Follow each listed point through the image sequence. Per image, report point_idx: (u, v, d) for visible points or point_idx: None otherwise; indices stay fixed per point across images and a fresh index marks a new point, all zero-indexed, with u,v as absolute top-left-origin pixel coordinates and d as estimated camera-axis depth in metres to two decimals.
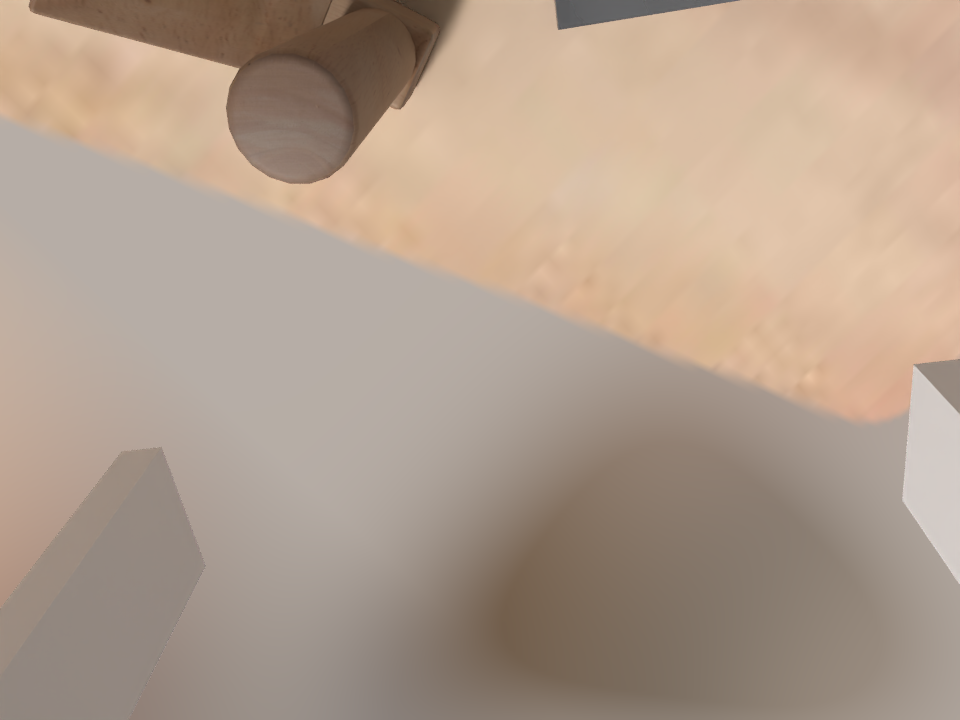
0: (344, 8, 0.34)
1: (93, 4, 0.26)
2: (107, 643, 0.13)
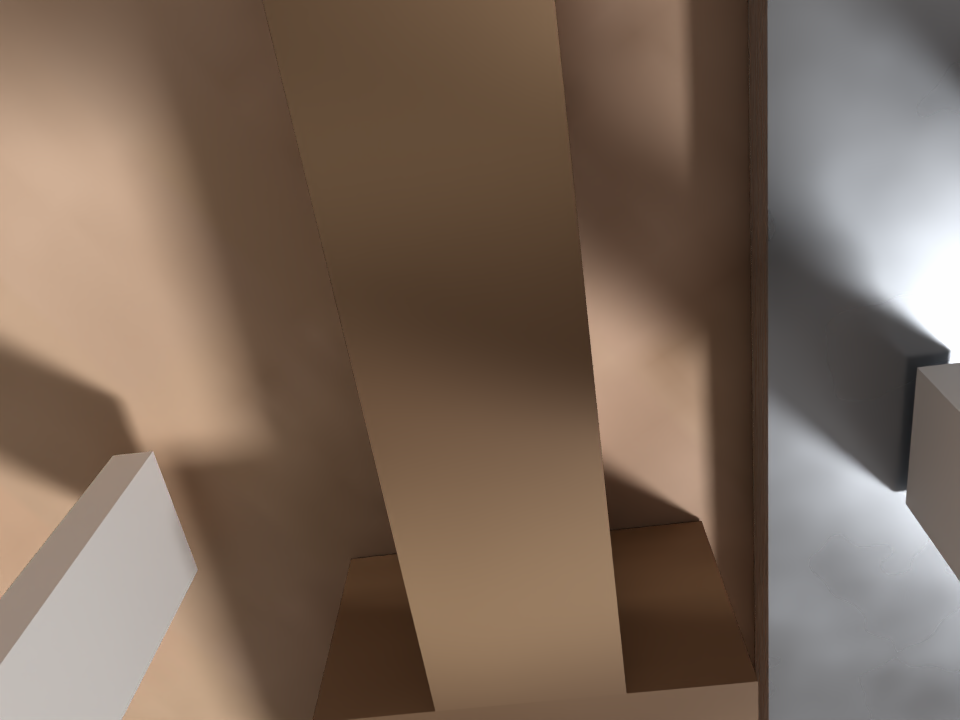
0: None
1: None
2: (96, 649, 0.13)
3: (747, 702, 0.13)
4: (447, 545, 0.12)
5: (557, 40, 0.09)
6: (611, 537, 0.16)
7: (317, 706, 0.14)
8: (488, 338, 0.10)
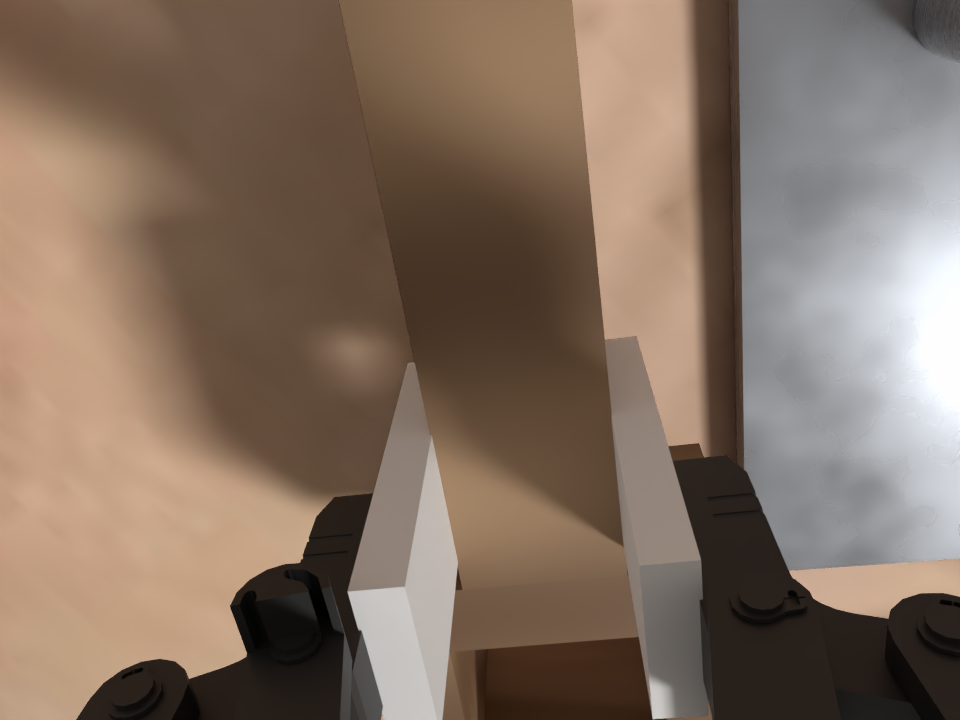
0: None
1: None
2: (443, 519, 0.14)
3: None
4: (475, 438, 0.14)
5: (570, 2, 0.11)
6: None
7: None
8: (511, 256, 0.13)
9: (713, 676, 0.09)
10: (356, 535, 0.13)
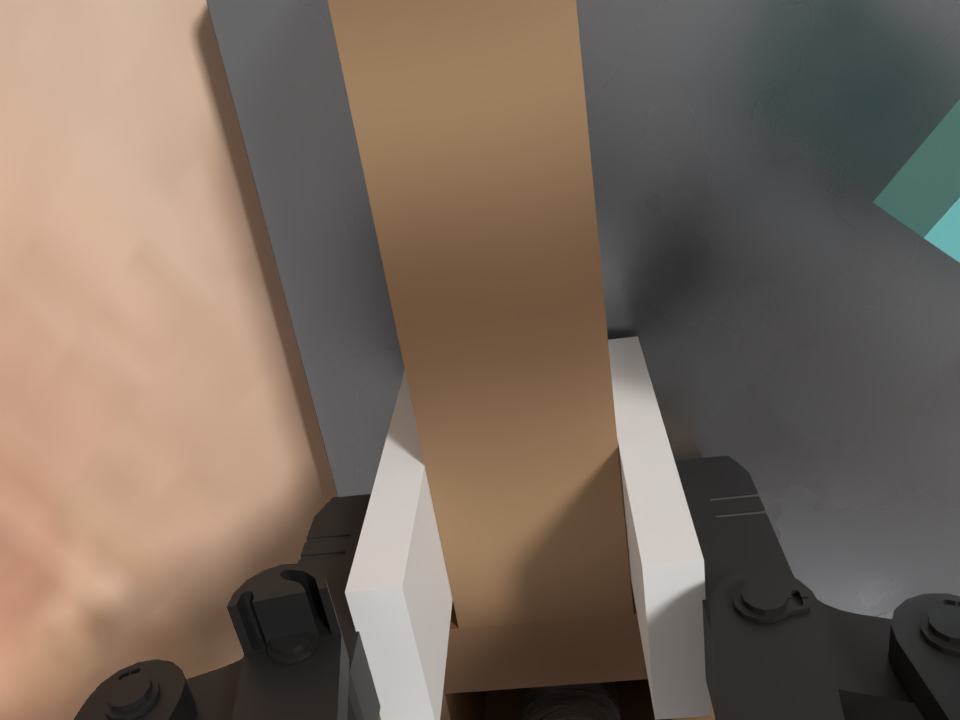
0: None
1: None
2: None
3: None
4: (471, 467, 0.13)
5: (575, 5, 0.10)
6: None
7: None
8: (510, 275, 0.12)
9: (716, 676, 0.09)
10: (354, 535, 0.13)
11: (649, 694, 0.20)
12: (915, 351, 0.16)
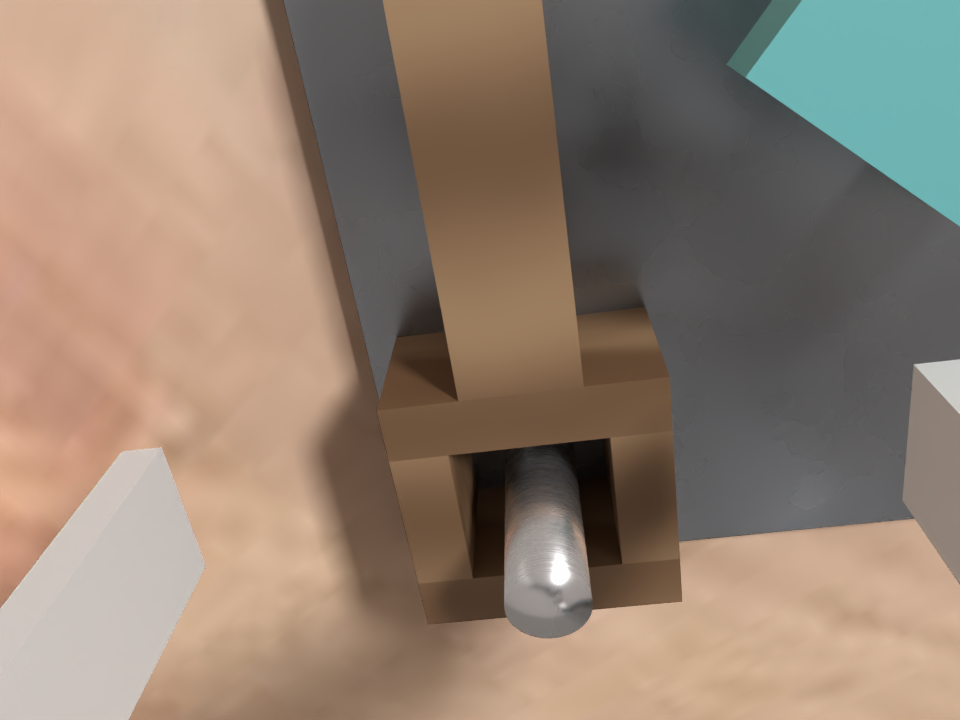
0: None
1: None
2: (107, 643, 0.13)
3: (663, 393, 0.20)
4: (467, 273, 0.19)
5: None
6: (581, 317, 0.23)
7: (379, 404, 0.21)
8: (493, 127, 0.17)
9: None
10: None
11: (604, 489, 0.25)
12: (796, 207, 0.22)
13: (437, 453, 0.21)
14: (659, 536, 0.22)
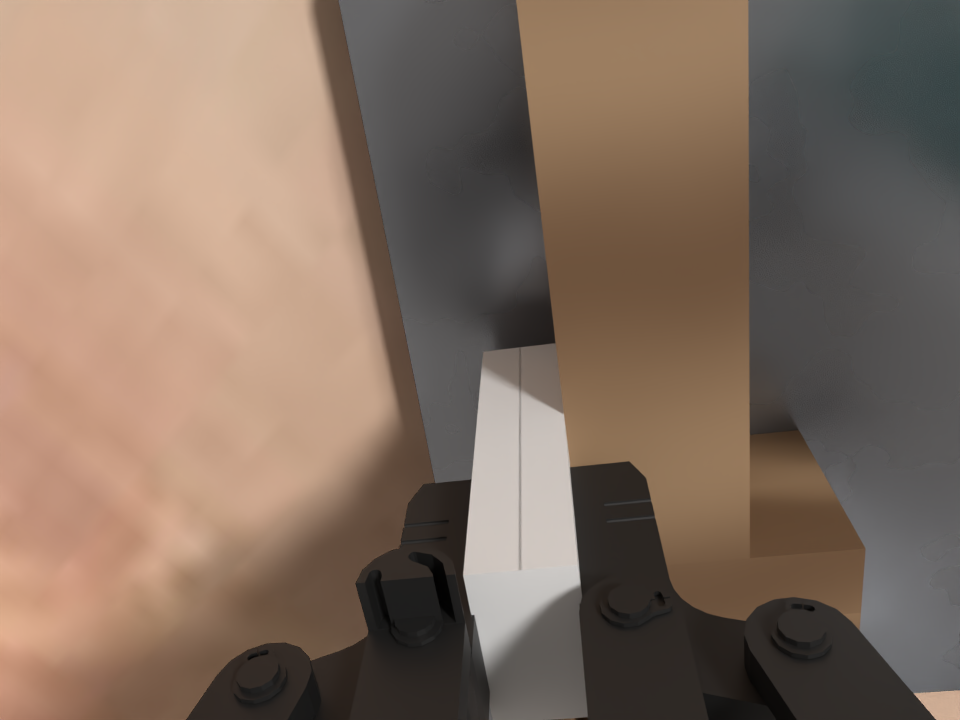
0: None
1: None
2: None
3: (854, 568, 0.15)
4: (608, 418, 0.14)
5: None
6: None
7: None
8: (663, 233, 0.12)
9: (586, 685, 0.09)
10: (453, 521, 0.13)
11: None
12: None
13: None
14: None
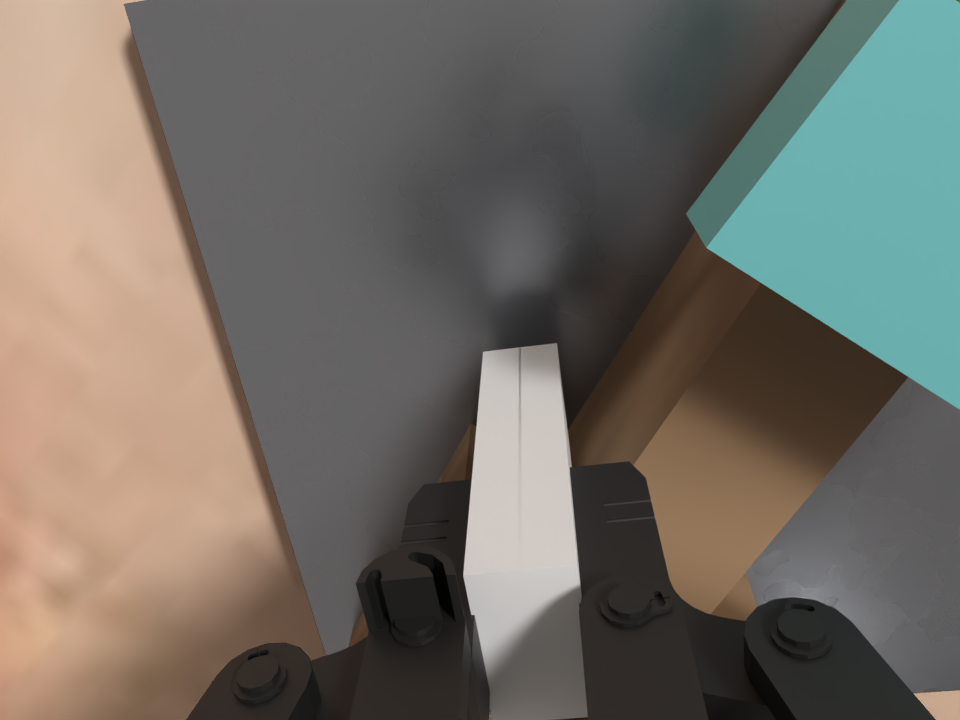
0: None
1: None
2: None
3: None
4: (681, 465, 0.15)
5: None
6: None
7: None
8: (842, 347, 0.13)
9: (586, 685, 0.09)
10: (453, 521, 0.13)
11: None
12: None
13: None
14: None
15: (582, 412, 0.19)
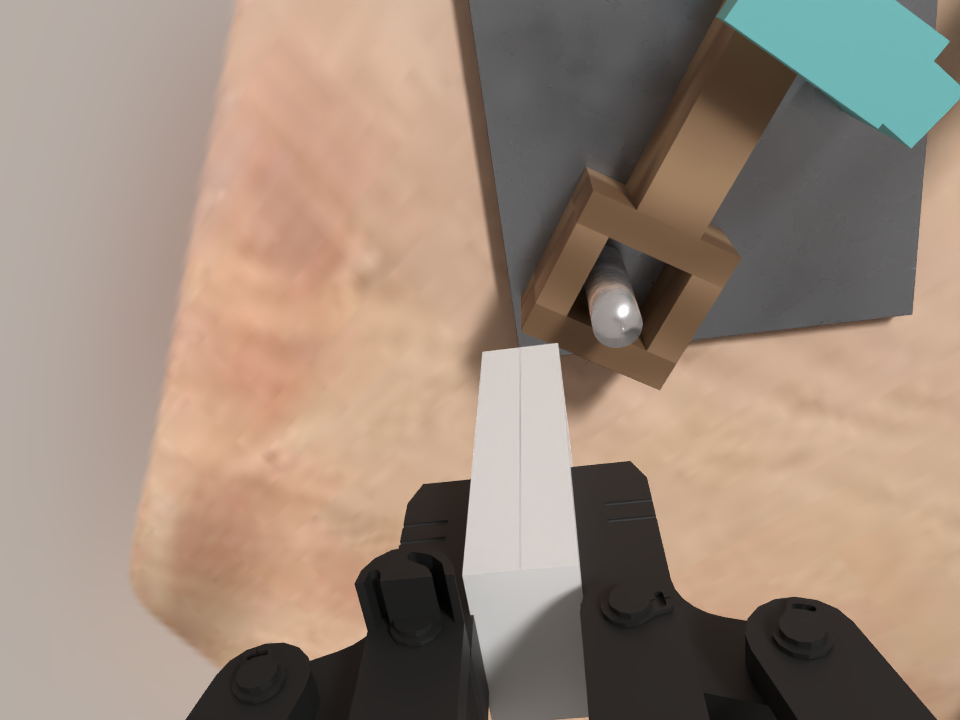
0: None
1: None
2: None
3: (732, 265, 0.36)
4: (691, 146, 0.34)
5: None
6: None
7: (593, 188, 0.35)
8: (755, 84, 0.33)
9: (587, 684, 0.09)
10: (452, 521, 0.13)
11: None
12: None
13: (604, 232, 0.35)
14: (675, 344, 0.38)
15: (642, 156, 0.38)
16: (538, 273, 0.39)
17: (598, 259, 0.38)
